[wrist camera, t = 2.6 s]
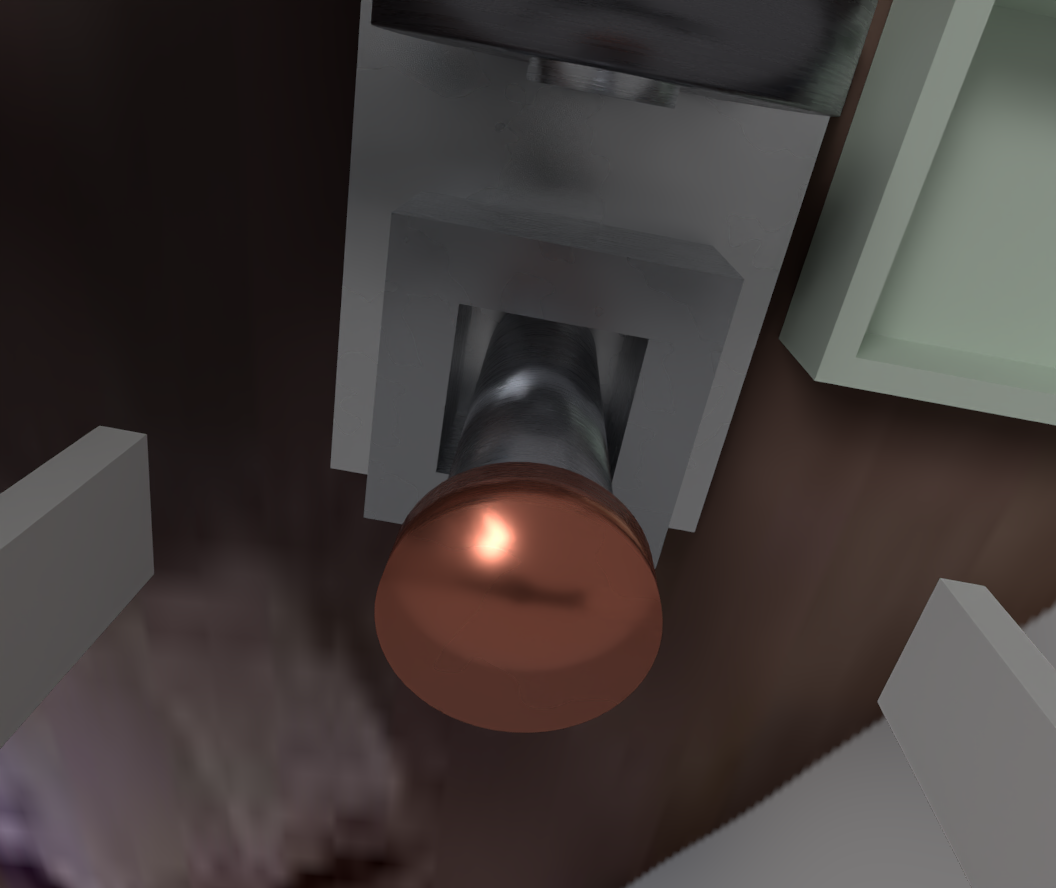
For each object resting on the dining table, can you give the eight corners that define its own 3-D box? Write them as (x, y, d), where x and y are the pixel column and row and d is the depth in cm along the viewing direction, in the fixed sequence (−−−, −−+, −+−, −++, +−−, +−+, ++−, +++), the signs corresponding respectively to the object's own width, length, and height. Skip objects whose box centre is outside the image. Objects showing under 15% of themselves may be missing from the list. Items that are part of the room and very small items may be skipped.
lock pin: (462, 407, 23) (363, 708, 12) (482, 272, 21) (387, 477, 10) (596, 432, 23) (625, 751, 12) (628, 300, 21) (696, 532, 10)
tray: (778, 338, 22) (814, 380, 19) (909, -48, 18) (984, -78, 15) (1093, 397, 23) (1181, 448, 20) (1296, 32, 18) (1452, 19, 15)
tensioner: (340, 451, 25) (207, 664, 16) (378, -81, 18) (189, -253, 9) (689, 513, 25) (759, 755, 16) (847, 14, 19) (1120, -60, 10)
